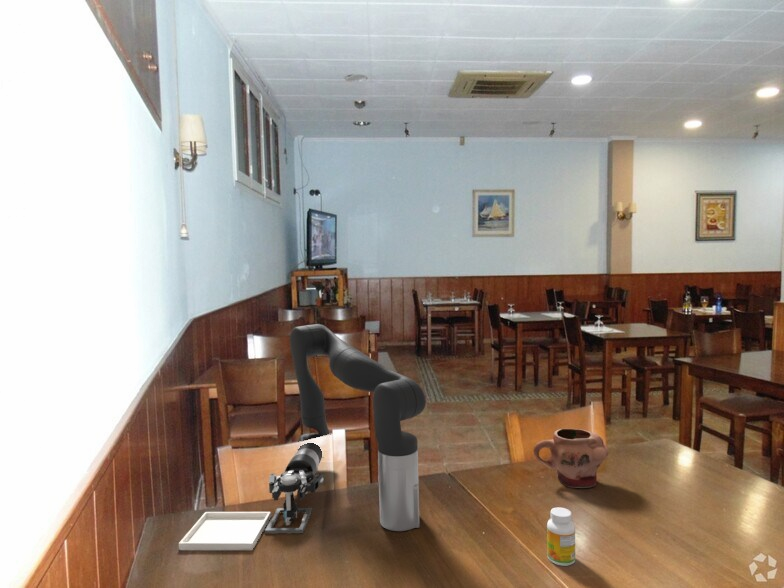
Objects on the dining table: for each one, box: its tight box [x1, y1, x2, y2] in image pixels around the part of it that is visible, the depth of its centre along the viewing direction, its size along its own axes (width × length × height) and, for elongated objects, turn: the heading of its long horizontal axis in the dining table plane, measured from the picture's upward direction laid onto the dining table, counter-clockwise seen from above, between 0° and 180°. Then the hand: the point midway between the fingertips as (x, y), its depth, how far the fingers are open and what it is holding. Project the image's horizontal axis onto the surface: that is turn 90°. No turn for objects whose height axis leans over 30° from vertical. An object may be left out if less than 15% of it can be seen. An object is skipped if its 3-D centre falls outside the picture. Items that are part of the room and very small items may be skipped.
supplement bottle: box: [546, 506, 576, 567], centre depth 102 cm, size 5×5×10 cm
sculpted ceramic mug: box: [533, 428, 610, 489], centre depth 137 cm, size 20×12×14 cm, turn 95°
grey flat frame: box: [264, 507, 313, 535], centre depth 120 cm, size 9×11×1 cm
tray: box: [178, 511, 272, 551], centre depth 115 cm, size 16×14×2 cm
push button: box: [277, 475, 300, 526], centre depth 119 cm, size 7×5×10 cm
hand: (287, 496), depth 118 cm, fingers closed on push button, 5 cm apart
